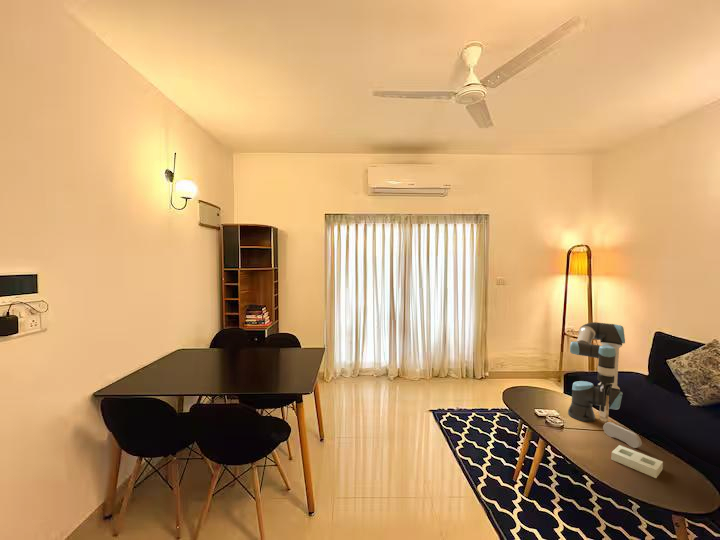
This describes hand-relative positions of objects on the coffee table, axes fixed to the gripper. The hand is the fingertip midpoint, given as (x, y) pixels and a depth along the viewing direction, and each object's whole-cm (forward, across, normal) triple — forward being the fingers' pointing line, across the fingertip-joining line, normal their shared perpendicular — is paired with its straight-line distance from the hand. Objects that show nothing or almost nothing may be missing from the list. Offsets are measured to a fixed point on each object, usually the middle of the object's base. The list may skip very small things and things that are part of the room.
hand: (603, 415), depth 183 cm
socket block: (+19, +3, +16) cm, 24 cm away
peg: (+3, 0, 0) cm, 3 cm away
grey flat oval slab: (+19, -18, +4) cm, 26 cm away
